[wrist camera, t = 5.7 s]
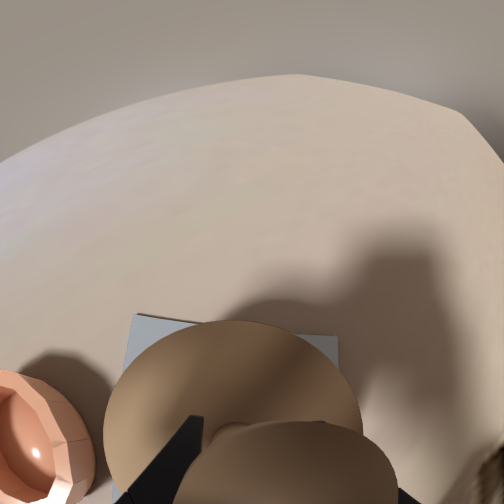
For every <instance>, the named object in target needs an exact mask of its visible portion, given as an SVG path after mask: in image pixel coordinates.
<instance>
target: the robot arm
mask: <svg viewBox="0 0 504 504" xmlns="http://www.w3.org/2000/svg"><path fill="white" fill-rule="evenodd" d="M311 422H321V423H327V422H325V421H323V420H320V421H311ZM203 429H204V417H203V416H199V415H189V416H188V417H187V418H186V420H185V421H184V422H183V423H182V425H181V426H180V427H179V428H178V430H177V431H176V432H175V433H174V434H173V436H172V437H171V438H170V439H169V441H168V442H167V443H166V444H165V445H164V447H163V448H162V449H161V450H160V452H159V453H158V454H157V455H156V456H155V458H154V459H153V460H152V461H151V462H150V463H149V465H148V466H147V467H146V468H145V469H144V470H143V472H142V473H141V474H140V475H139V476H138V477H137V479H136V480H135V481H134V482H133V483H132V484H131V485H130V487H129V488H128V489H127V491H125V492H124V493H123V494H122V495H121V496H120V498H119V499H118V500H117V501H116V502H115V503H114V504H173V501H174V499H175V496H176V494H177V491H178V489H179V487H180V484H181V482H182V480H183V477H184V475H185V473H186V471H187V470H188V468H189V467H190V465H191V464H192V462H193V461H194V460H195V459H196V458H197V457H198V455H199V454H200V453H202V443H203ZM398 504H421V503H420V502H418V501H417V500H415V499H414V498H413V497H411V496H410V495H409V494H407V493H406V492H405V491H404V490H402V489H401V488H398Z"/></svg>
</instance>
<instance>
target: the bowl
mask: <svg viewBox="0 0 504 504" xmlns="http://www.w3.org/2000/svg"><path fill="white" fill-rule="evenodd" d="M95 472H96V458H95V451H94V446H93V442H92V439H91V436H90V434H89V431H88V429H87V427H86V425H85V423H84V421H83V419H82V417H81V416H80V414H79V413H78V411H77V410H76V409H75V407H74V406H73V405H72V404H71V402H70V401H69V400H68V399H67V398H66V397H65V396H64V395H63V394H62V393H60V392H59V391H58V390H56V389H55V388H53V387H52V386H50V385H48V384H46V383H45V382H44V381H43V380H39V379H36V378H32V377H29V376H26V375H22V374H19V373H16V372H11V371H6V370H2V369H0V501H1V502H2V503H3V504H76V503H78V502H79V501H81V500H82V499H83V497H84V495H85V494H86V493H87V492H88V491H89V489H90V487H91V486H92V483H93V481H94V477H95Z"/></svg>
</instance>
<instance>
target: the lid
mask: <svg viewBox="0 0 504 504" xmlns="http://www.w3.org/2000/svg"><path fill="white" fill-rule="evenodd" d="M189 415H199V416H203V417H204V429H203V443H202V453H200V454H199V455H198V457H197V458H196V459H195V460H194V461H193V462H192V464H191V465H190V467H189V468H188V470H187V471H186V473H185V475H184V477H183V480H182V482H181V484H180V487H179V489H178V491H177V494H176V496H175V499H174V501H173V504H398V484H397V478H396V475H395V472H394V469H393V467H392V465H391V463H390V461H389V459H388V458H387V457H386V455H385V454H384V452H383V451H382V450H381V449H380V448H379V447H378V446H377V445H376V444H375V443H373V442H372V441H371V440H369V439H368V438H367V437H365V436H363V423H362V418H361V413H360V409H359V406H358V403H357V400H356V398H355V395H354V393H353V391H352V389H351V387H350V385H349V383H348V381H347V380H346V379H345V377H344V376H343V374H342V373H341V371H340V370H339V369H338V368H337V367H336V366H335V364H334V363H333V362H332V361H331V360H330V359H329V358H328V357H327V356H326V355H325V354H323V353H322V352H321V351H320V350H319V349H317V348H316V347H315V346H313V345H312V344H310V343H309V342H307V341H306V340H304V339H302V338H300V337H298V336H296V335H294V334H292V333H290V332H288V331H285V330H282V329H280V328H277V327H274V326H270V325H266V324H262V323H258V322H250V321H242V320H223V321H213V322H206V323H202V324H197V325H193V326H189V327H187V328H184V329H181V330H178V331H175V332H173V333H171V334H169V335H167V336H165V337H163V338H161V339H160V340H158V341H157V342H155V343H154V344H152V345H151V346H149V347H148V348H147V349H145V350H144V351H143V352H142V353H141V354H140V355H139V356H137V357H136V358H135V359H134V360H133V362H132V363H131V364H130V365H129V366H128V367H127V368H126V370H125V371H124V372H123V374H122V375H121V377H120V379H119V380H118V382H117V383H116V385H115V387H114V389H113V392H112V394H111V396H110V398H109V402H108V405H107V409H106V412H105V418H104V427H103V442H104V450H105V456H106V461H107V464H108V467H109V470H110V473H111V476H112V478H113V480H114V482H115V484H116V486H117V488H118V489H119V491H120V493H121V494H123V493H124V492H125V491H127V489H128V488H129V487H130V485H131V484H132V483H133V482H134V481H135V480H136V479H137V477H138V476H139V475H140V474H141V473H142V472H143V470H144V469H145V468H146V467H147V466H148V465H149V463H150V462H151V461H152V460H153V459H154V458H155V456H156V455H157V454H158V453H159V452H160V450H161V449H162V448H163V447H164V445H165V444H166V443H167V442H168V441H169V439H170V438H171V437H172V436H173V434H174V433H175V432H176V431H177V430H178V428H179V427H180V426H181V425H182V423H183V422H184V421H185V420H186V418H187V417H188V416H189ZM320 420H323V421H325V422H327V423H321V422H311V421H320Z"/></svg>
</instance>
